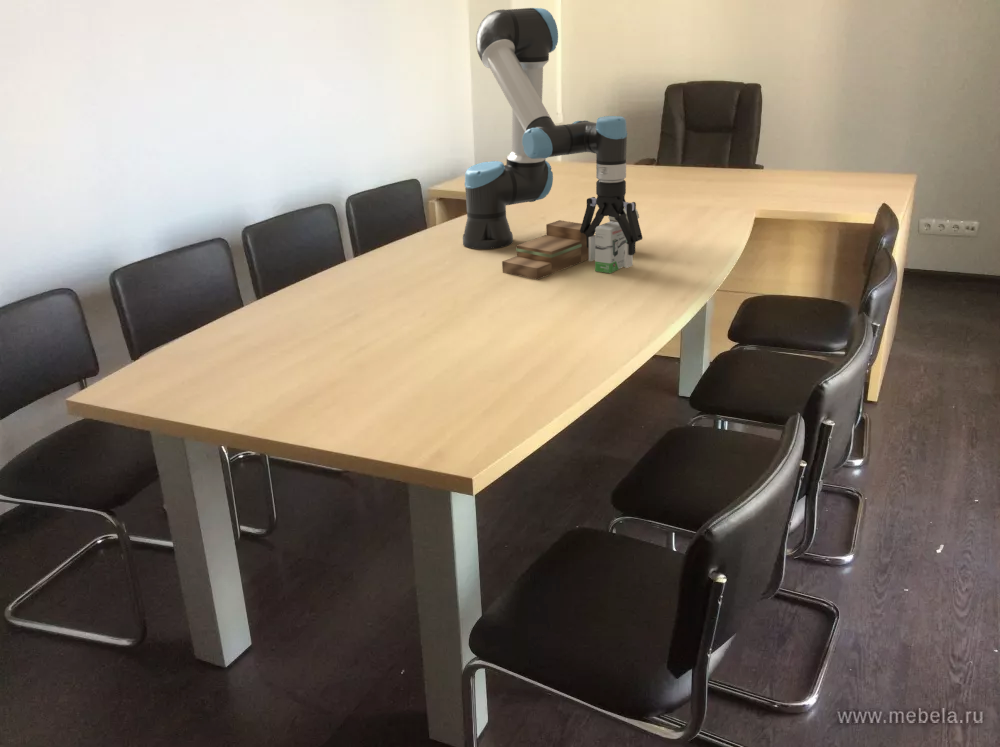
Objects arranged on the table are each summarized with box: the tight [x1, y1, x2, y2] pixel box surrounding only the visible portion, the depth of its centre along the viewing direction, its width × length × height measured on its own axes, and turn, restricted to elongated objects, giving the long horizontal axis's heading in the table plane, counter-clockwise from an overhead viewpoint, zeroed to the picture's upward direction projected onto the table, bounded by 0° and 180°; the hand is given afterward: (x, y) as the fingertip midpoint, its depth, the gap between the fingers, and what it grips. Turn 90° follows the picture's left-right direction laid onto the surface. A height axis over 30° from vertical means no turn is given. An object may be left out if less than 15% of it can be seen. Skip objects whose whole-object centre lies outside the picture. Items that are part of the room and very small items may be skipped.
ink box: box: [594, 220, 626, 274], centre depth 222 cm, size 9×5×12 cm, turn 144°
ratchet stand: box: [501, 220, 595, 280], centre depth 228 cm, size 12×25×9 cm, turn 138°
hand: (610, 263), depth 224 cm, fingers open, 11 cm apart
